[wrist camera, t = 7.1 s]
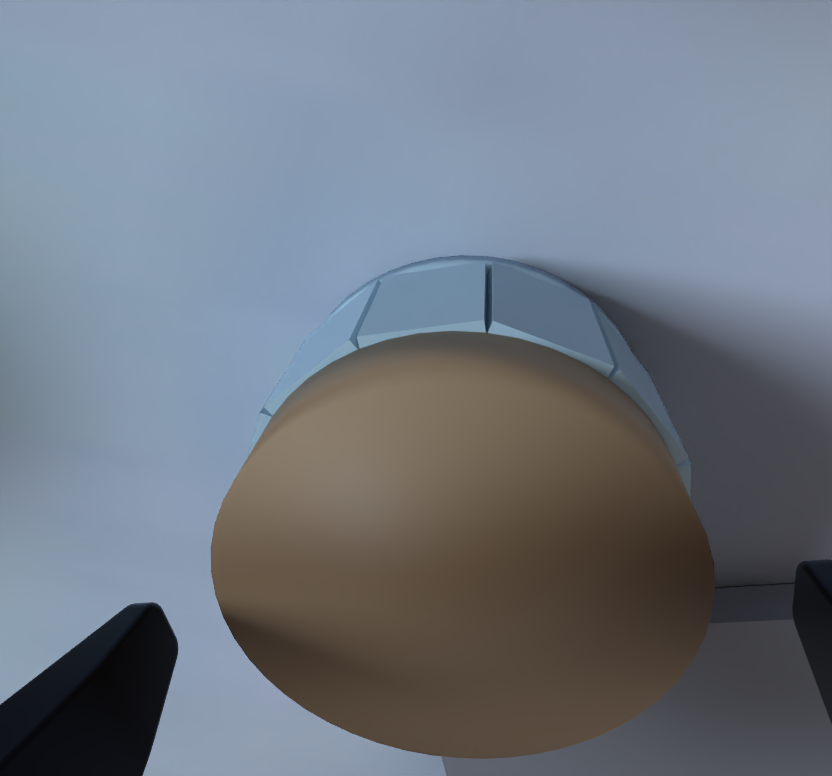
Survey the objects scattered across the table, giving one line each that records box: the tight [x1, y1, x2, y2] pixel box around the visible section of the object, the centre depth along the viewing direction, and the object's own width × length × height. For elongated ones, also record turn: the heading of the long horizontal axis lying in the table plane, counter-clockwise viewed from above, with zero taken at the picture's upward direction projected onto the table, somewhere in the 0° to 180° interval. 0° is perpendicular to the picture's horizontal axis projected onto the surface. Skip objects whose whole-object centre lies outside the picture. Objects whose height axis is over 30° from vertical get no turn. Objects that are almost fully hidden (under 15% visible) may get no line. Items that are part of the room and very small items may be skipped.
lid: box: [211, 331, 715, 759], centre depth 10 cm, size 7×7×2 cm
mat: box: [442, 584, 832, 776], centre depth 17 cm, size 10×10×1 cm
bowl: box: [248, 255, 691, 499], centre depth 12 cm, size 7×7×4 cm
